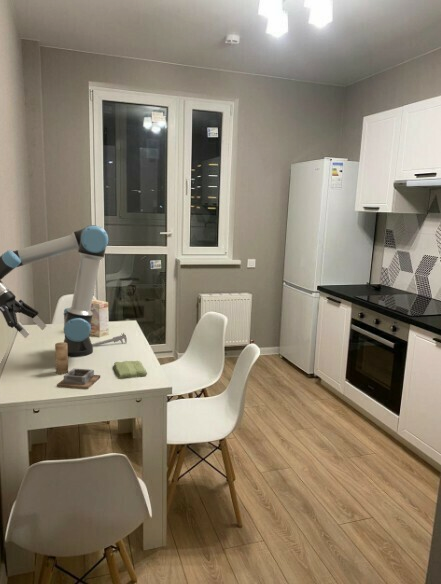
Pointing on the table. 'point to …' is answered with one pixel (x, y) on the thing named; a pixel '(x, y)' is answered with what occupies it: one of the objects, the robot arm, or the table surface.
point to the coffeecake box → (99, 318)
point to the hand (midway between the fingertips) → (36, 331)
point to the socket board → (79, 379)
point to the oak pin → (61, 358)
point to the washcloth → (129, 369)
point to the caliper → (112, 340)
